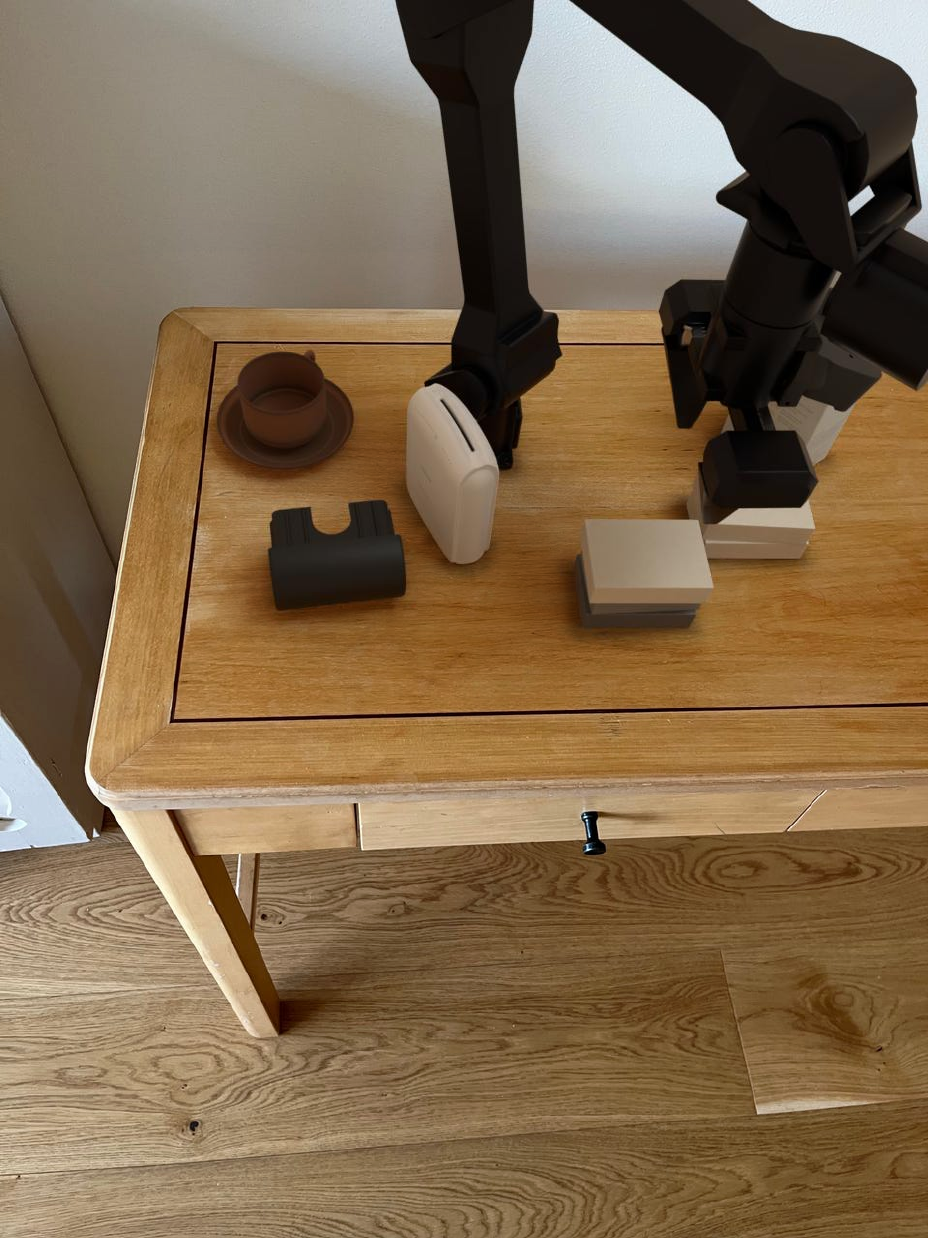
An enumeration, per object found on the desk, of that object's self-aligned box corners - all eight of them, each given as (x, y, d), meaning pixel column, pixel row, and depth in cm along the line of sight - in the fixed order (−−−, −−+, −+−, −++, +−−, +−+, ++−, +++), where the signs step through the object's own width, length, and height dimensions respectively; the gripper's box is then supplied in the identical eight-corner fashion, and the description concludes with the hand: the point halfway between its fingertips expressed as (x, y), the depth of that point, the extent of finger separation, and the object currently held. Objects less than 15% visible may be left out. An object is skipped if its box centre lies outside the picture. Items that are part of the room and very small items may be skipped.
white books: (694, 559, 79) (709, 527, 76) (681, 501, 83) (695, 468, 79) (800, 560, 80) (820, 528, 76) (782, 502, 84) (801, 469, 80)
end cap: (279, 631, 73) (270, 581, 67) (272, 558, 76) (263, 505, 71) (406, 615, 74) (407, 566, 69) (393, 545, 78) (393, 492, 72)
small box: (825, 458, 87) (888, 349, 76) (782, 489, 84) (841, 381, 73) (760, 408, 90) (811, 296, 79) (717, 436, 88) (763, 324, 77)
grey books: (580, 628, 75) (590, 600, 71) (572, 565, 78) (580, 536, 75) (692, 628, 75) (707, 600, 72) (679, 566, 79) (692, 537, 75)
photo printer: (398, 485, 82) (400, 378, 71) (442, 471, 83) (451, 364, 72) (449, 573, 77) (458, 472, 66) (495, 556, 78) (511, 455, 68)
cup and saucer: (229, 381, 87) (220, 328, 82) (358, 389, 88) (356, 337, 82) (210, 479, 80) (198, 428, 75) (349, 486, 81) (347, 436, 76)
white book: (589, 603, 71) (594, 587, 69) (579, 535, 75) (584, 518, 73) (705, 603, 72) (714, 587, 70) (690, 536, 76) (698, 519, 74)
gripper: (954, 410, 51) (837, 575, 64) (854, 204, 61) (770, 383, 74) (758, 410, 50) (680, 578, 63) (688, 200, 60) (633, 383, 73)
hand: (696, 473), depth 68 cm, fingers open, 9 cm apart
